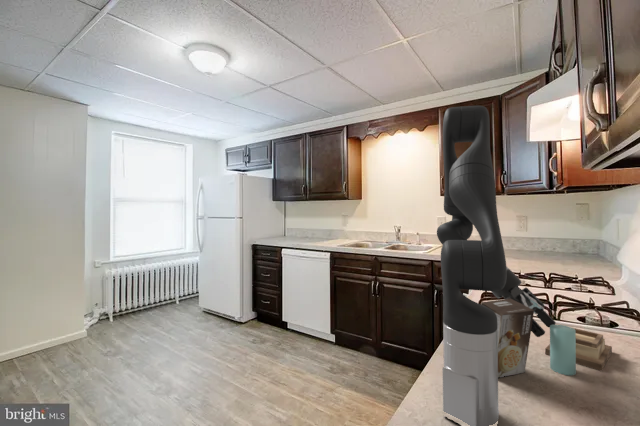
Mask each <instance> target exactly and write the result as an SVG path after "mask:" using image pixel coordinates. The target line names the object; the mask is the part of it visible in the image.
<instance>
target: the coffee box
mask: <svg viewBox="0 0 640 426" xmlns="http://www.w3.org/2000/svg"><path fill="white" fill-rule="evenodd" d="M480 304H481V305H483V306H486V307H488V308H490V309H491V310H492V311H494V312H495V314H496V316H497V334H498V377H500V378H504V376H505V377H508V376H512V375H518V374H522V373H525V372H526V367H527V366H526V365H527V360H528V353H529V347H530V339H531V333H532V331H531V328H532V321H533V319H534V315H535V314H534V310H533V309H531V308H529V307H527V306H525V305H523V304H521V303H519V302H517V301H515V300H513V299H505V298H503V299H498V300H496V299H495V300H490V301H483V302H482V301H481V303H480Z"/></svg>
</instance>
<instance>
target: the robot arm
mask: <svg viewBox="0 0 640 426" xmlns="http://www.w3.org/2000/svg"><path fill="white" fill-rule="evenodd" d="M490 121H491V120H490V112H489V110H488V109H487V107H485V106H483V105H468V106H466V105H465V106H454V107H453V106H452V107H448V108H447V109H446V110H445V112H444V115H443V119H442V122H443V123H442V155H443V158H442V159H443V171H444V194H443V197H444V198H443V210H444V212H445V214H447V215H448V216H451V220H449V221H447V222H445V223H442V224H440V225H439V226H438V227H437V229H436V236H437V238H438V239H437V240H438V241H439V242H440V243H441V245H442V246H441V251H440V270H441V281H442V282H441V283H442V303H443V304H442V307H443V309H442V313H443V314H442V326H443V329H442V330H443V331H442V333H443V334H442V335H443V336H442V337H443V367H442V411H444V412H446V413H448V414H450V415H452V416H454V417H456V418H458V419H460V420H462V421H463V422H465V423H467V424H468V425H470V426H489V425H493V424H495V423H496V422H497V421H498V419H499V378H498V334H497V316H496V314H495V312H494V311H492V310H491V309H490V308H488V307H486V306H483V305H481V303H478V302H477V301H474V300H473V299H470V298H468V297H467V296H466V295H464V294H463V293H462V291H461V290H468V291H469V290H470V291H483V292H491V293H492V294H493V295H494V297H495V298H497V299H501V298H502V297H503V299H513V300H515V301H517V302H519V303H521V304H523V305H525V306H527V307H529V308H531V309H533V310H534V314H533V315H536V317H537V318H538V319H539V320H540V321H541V322H542V323H543V324H544V326H546V327H547V328H550V325H554V324H556V323H557V322H556V321H555V320H554V319H553V318H552V317H551V316H550V315H549V314H548V312H546V310H545V304H544V303H543V302H542V300H540V299H539V298H538V296H536V295H535V294H534V293H533V292H532V291H531V290H530V289H529V288H528V287H524V288H522V289H521V288H520V287H519V286H520V285H521V284H522V280H521V279H520V278H519V277H518V276H517V275H516V274H515V273H514V272H513V271H512V270H511V269H510V268H509V267H508V266H507V260H506V253H505V248H504V244H503V240H502V239H503V238H502V234H501V233H502V232H501V229H500V224H499V219H498V208H497V196H496V195H497V193H496V181H495V172H494V167H493V161H492V159H493V158H492V154H491V153H492V152H491V130H490V129H491V126H490ZM456 143H471V145H470V146H469V147H468V148H467V149H466V150H465V151H464V152H463V153H461V155H459V157H458V156H457V154H456V148H455V147H456V146H455V145H456ZM474 228H475V230H476V231H477V232H478V235H479V238H480V240H479V239H478V240H477V239H475V240H474V239H473V240H472V239H470V237H471V236H472V234H473V231H474ZM531 333H533V335H534V336H535V337H537V338H540V337H542V336H544V335H545V334H546V331H545V329H544V328H543V327H542V326H541V325H540V324H539V323H538V322H537V321H536V320H535V319H534V318H533V321H532V328H531Z"/></svg>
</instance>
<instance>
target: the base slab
mask: <svg viewBox="0 0 640 426" xmlns="http://www.w3.org/2000/svg"><path fill="white" fill-rule="evenodd" d="M572 328H573V329H575V330H576V365H581V366H584V367H587V368H590V369H594V370H597V371H603V370H604V367H605V365H606V364H607V362H608V360H609V359H610V356H611V354H612V353H613V346H611V345H608V344H606V338H604V334H602V333H597V332H593V331H589V330H583V329H578V328H576V327H575V328H574V327H572ZM544 350H545V352H544V353H545V355H546V356H550V343H549V344H548V345H547V346H546V347H545V349H544Z"/></svg>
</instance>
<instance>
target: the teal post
mask: <svg viewBox="0 0 640 426" xmlns="http://www.w3.org/2000/svg"><path fill="white" fill-rule="evenodd" d="M573 328H574V327H571V326H567V325H564V324H554V325H550V327H549V344H550V355H549V368H550V369H551V370H552V371H554V372H555V373H557V372H558V374H560V375H563V374H564V375H565V376H574V375H575V376H576V373H577V363H576V330H575V329H573Z"/></svg>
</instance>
